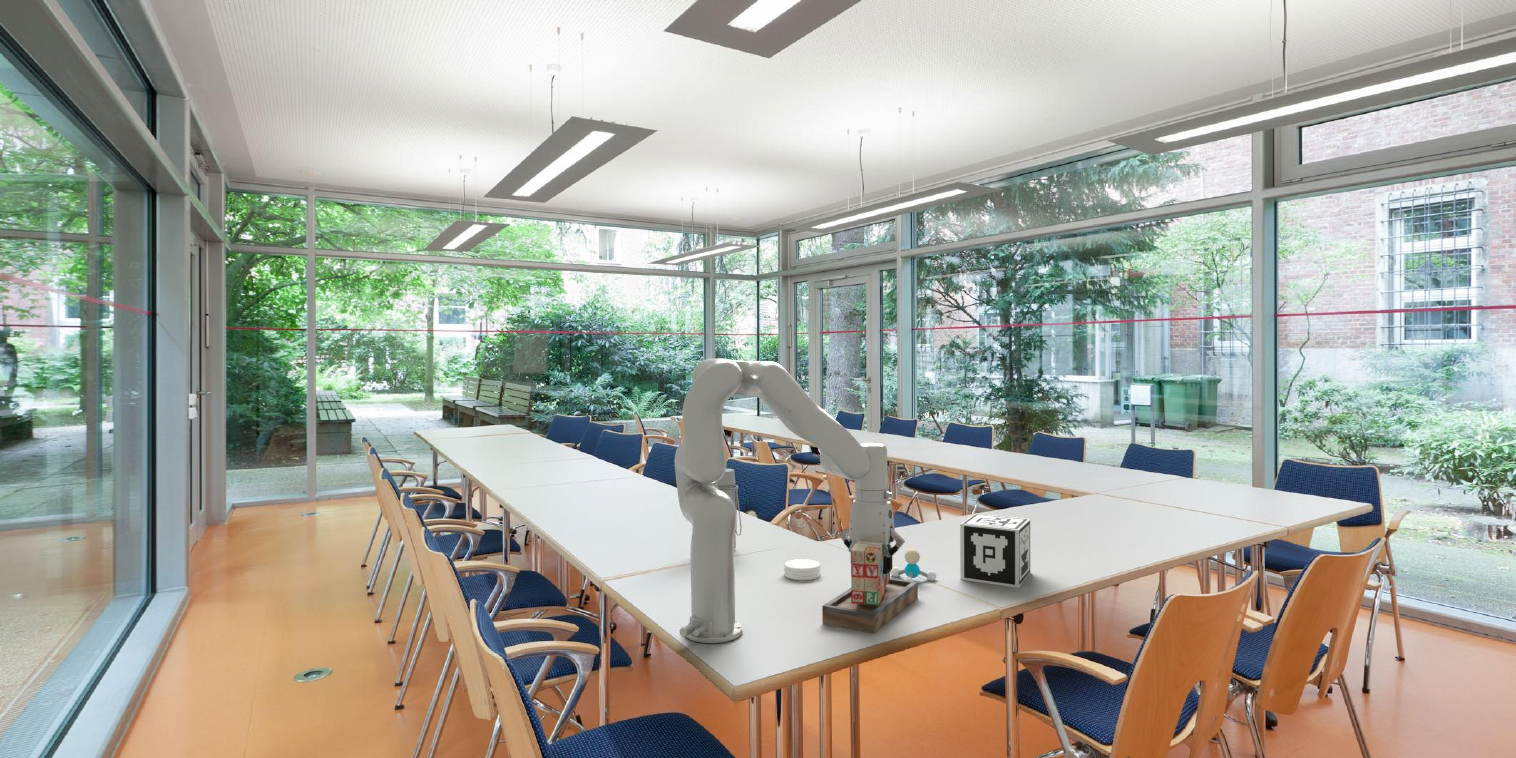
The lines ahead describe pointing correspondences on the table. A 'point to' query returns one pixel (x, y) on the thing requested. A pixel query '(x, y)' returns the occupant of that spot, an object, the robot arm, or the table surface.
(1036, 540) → the table surface
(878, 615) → the wooden tray
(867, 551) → the stack of blocks
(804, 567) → the coaster
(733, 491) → the water bottle
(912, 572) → the molecule model
